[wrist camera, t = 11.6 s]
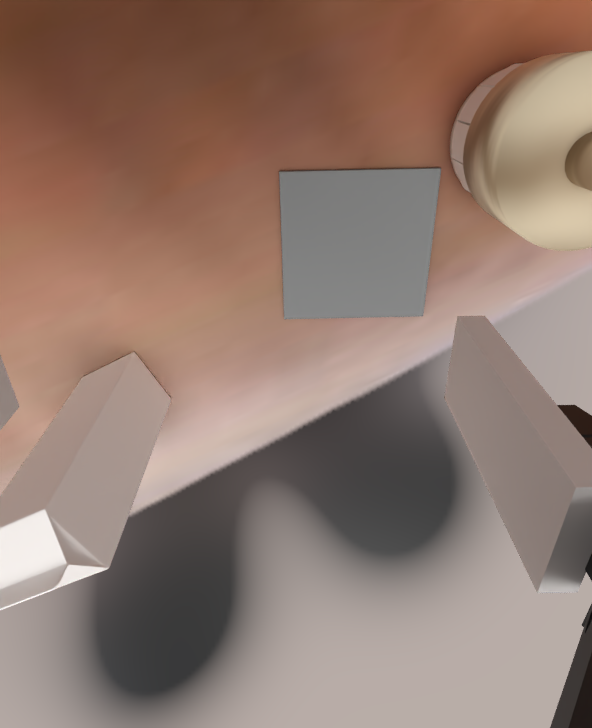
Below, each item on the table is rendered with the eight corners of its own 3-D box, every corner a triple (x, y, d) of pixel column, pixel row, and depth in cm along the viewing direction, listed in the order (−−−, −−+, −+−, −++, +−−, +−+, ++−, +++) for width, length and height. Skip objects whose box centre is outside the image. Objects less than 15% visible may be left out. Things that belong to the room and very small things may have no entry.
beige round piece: (476, 55, 29) (535, 48, 22) (647, 51, 29) (759, 43, 22) (452, 225, 34) (494, 264, 27) (597, 222, 34) (676, 260, 27)
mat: (279, 171, 37) (279, 172, 36) (439, 167, 37) (441, 168, 36) (284, 317, 43) (284, 319, 42) (421, 314, 43) (423, 316, 42)
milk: (172, 398, 47) (95, 617, 28) (121, 422, 48) (14, 646, 30) (133, 349, 44) (19, 556, 25) (80, 375, 46) (-66, 591, 27)
